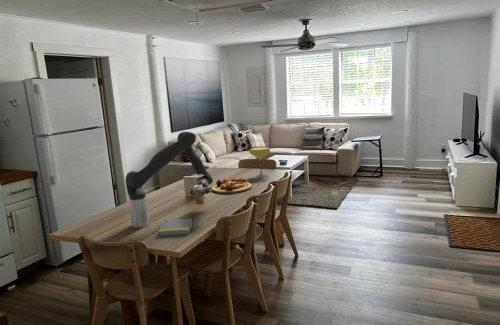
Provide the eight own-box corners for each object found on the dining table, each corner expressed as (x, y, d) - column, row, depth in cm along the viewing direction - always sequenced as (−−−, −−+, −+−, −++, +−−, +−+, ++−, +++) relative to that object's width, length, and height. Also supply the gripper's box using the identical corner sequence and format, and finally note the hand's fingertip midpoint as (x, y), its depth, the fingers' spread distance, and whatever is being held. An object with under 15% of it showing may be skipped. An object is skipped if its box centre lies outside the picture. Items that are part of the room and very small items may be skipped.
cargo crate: (195, 204, 224) (193, 187, 222) (196, 202, 228) (194, 185, 226) (203, 204, 224) (201, 186, 222) (204, 202, 228) (202, 184, 226)
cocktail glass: (247, 177, 333) (245, 149, 328) (258, 173, 347) (256, 146, 342) (264, 179, 322) (262, 150, 318) (275, 174, 337) (273, 146, 332)
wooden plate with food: (243, 195, 280) (242, 184, 278) (204, 193, 290) (203, 183, 289) (257, 184, 309) (256, 174, 308) (221, 183, 320) (220, 174, 319)
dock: (159, 236, 209) (158, 229, 208) (165, 226, 224) (164, 220, 223) (188, 234, 209) (187, 227, 208) (192, 224, 223) (191, 218, 223)
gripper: (189, 181, 238) (185, 189, 221) (212, 180, 238) (209, 187, 221) (191, 193, 240) (186, 201, 223) (213, 191, 240) (210, 199, 223)
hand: (198, 194), depth 222 cm, fingers closed on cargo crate, 4 cm apart
